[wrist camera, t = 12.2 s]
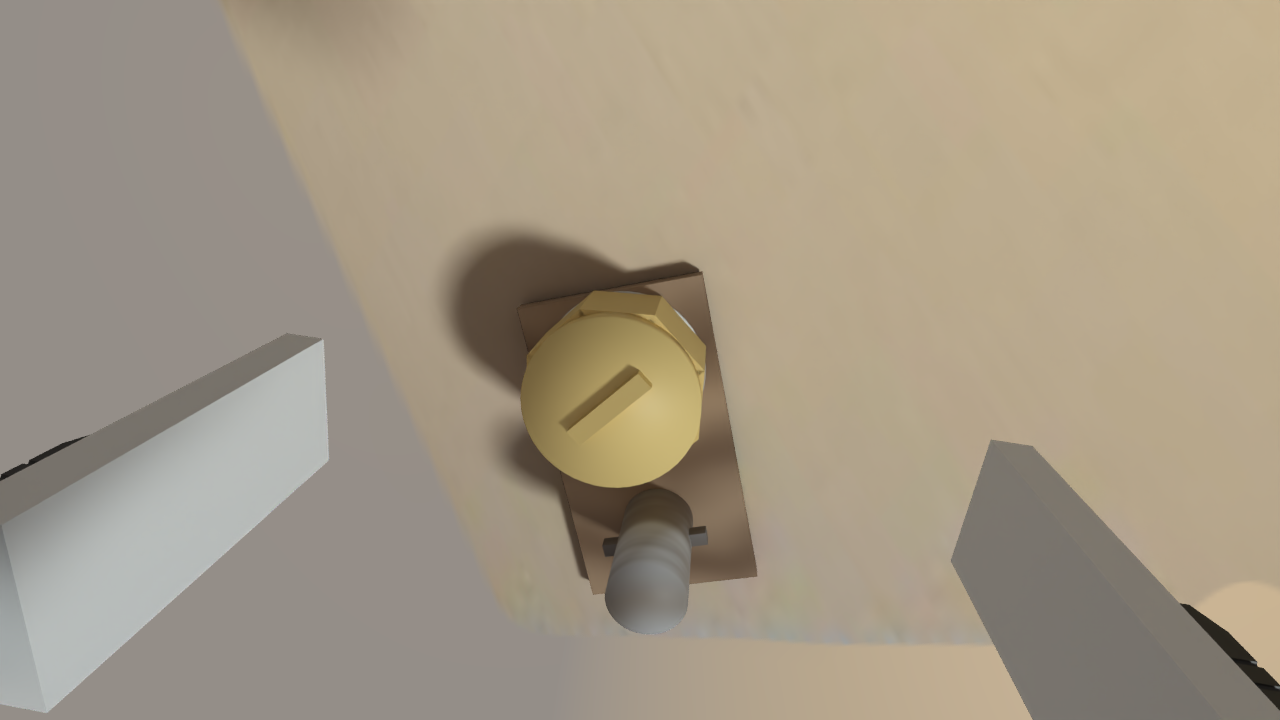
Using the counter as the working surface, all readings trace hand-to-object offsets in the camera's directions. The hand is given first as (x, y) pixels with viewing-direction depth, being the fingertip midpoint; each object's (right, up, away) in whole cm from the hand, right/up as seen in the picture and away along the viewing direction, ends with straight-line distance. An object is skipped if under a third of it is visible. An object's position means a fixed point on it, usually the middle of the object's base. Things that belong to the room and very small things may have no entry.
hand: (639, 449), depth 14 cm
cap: (-1, +1, +27) cm, 27 cm away
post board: (0, -3, +30) cm, 30 cm away
